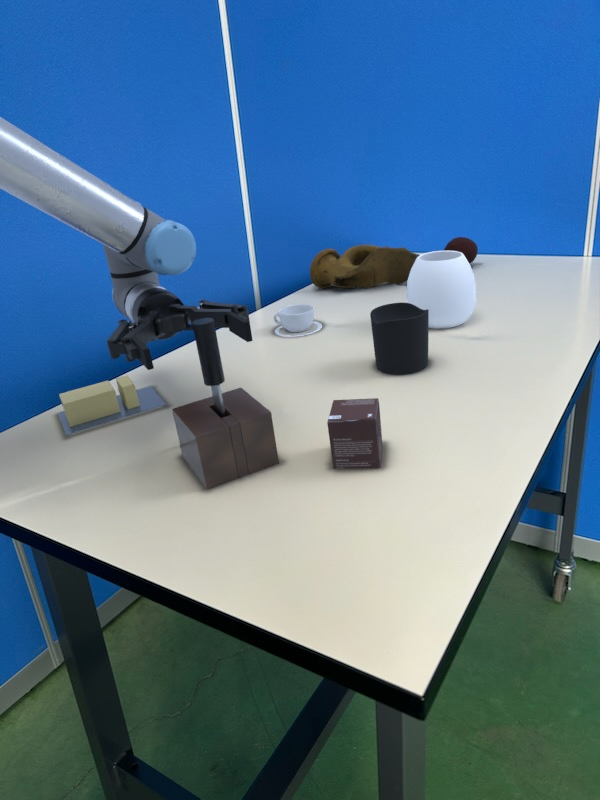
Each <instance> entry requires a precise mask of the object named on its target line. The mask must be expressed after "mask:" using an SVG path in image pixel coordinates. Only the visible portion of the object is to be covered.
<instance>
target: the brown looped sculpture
mask: <svg viewBox="0 0 600 800" xmlns="http://www.w3.org/2000/svg"><path fill="white" fill-rule="evenodd" d="M420 255H421V254H418V253H414V252H412V251H410V250H409V249H407V248H406V247H404V246H403V247H390V246H383V247H382V246H378V245H374V244H358V245H354V246H352V247H349V248H348V249H346V250H345V251H344V252H343V253H342V254H341V255H340V254H339V252H338V251H337V250H336V249H334V248H325V249H323V250H321V251H319V252H318V253H316V255H315V256H314V257H313V259H312V260H311V263H310V268H309V277H310V280H311V283H312V284H313V286H314V287H316V288H318V289H321V290H322V289H326V288H329V287H330V286H334V287H336V288H341V289H353V288H364V289H370V288H373V287H374V286H378V285H381V284H388V283H389V284H394V285H397V286H399V285H402V284H404V283H406V282H407V281H408V277H409V274H410V271H411V268H412V266H413V264H414V262H415V260H416V258H417V257H418V256H420Z"/></svg>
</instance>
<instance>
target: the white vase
mask: <svg viewBox="0 0 600 800" xmlns="http://www.w3.org/2000/svg"><path fill="white" fill-rule="evenodd" d="M419 255H420V256H418V257H417V258H416V260H415V262H414V264H413V266H412V268H411V271H410V274H409V277H408V280H407V281H406V282H407V284H406V286H407V287H406V301H407V302H406V303H410V304H413V305H415V306H417V307H419V308H420V309H422V310H427V309H428V310H429V329H436V330H438V329H440V330H442V329H451V328H455V327H459V326H461V325H463V324H464V323H466V322H467V321H468V320H470V318H471V316H472V315H473V314H474V310H475V308H476V305H477V283H476V276H475V273H474V271H473V268H472V266H471V263H470V264H469V262H468V261H467V259H466V257H465V256H464V254H463V253H461V252H458V251H444V250H433V251H429V252H425V253H421V254H419Z"/></svg>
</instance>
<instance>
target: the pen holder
mask: <svg viewBox="0 0 600 800" xmlns="http://www.w3.org/2000/svg"><path fill="white" fill-rule="evenodd" d="M369 316H370V323H371V324H370V325H371V334H372V341H373V352H374V358H375V367H376V369H377V370H378V371H379V372H381V373H383V374H387V375H391V376H405V375H412V374H416V373H419V372H422V371H423V370H425V369H426V368H427V367H428V366H429V365H428V364H429V329H430V328H429V310H428V309H427V310H422V309H420V308H419V307H417V306H415V305H413V304H410V303H407V302H393V303H387V304H382V305H379V306H377V307H375V308H373V309H372V310H370V313H369Z"/></svg>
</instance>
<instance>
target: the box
mask: <svg viewBox="0 0 600 800" xmlns="http://www.w3.org/2000/svg"><path fill="white" fill-rule="evenodd" d="M326 422H327V424H326V425H327V430H328V431H327V433H328V437H329V444H330V453H331V461H332V467H333V469H334V470H358V469H360V470H361V469H362V470H363V469H381V468H382V457H383V445H384V444H383V434H382V423H381V422H382V421H381V409H380V400H379V398H378V397H375V398H355V399H354V398H352V399H333V401H332V404H331V408H330V411H329V415H328V419H327V421H326Z"/></svg>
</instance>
